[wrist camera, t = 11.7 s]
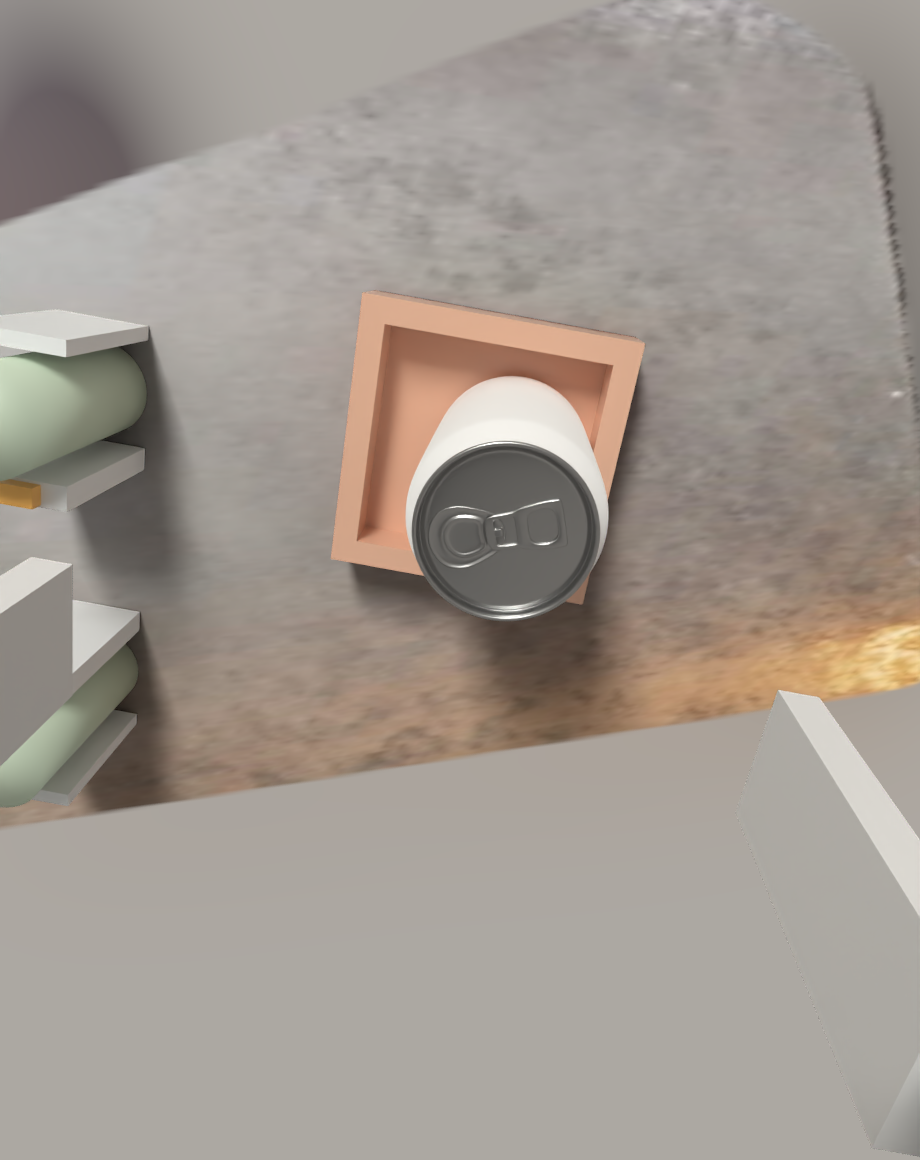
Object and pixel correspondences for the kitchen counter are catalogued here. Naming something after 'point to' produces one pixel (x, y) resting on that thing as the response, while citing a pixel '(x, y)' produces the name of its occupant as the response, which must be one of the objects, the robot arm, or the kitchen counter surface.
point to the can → (507, 502)
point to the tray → (432, 384)
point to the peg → (67, 729)
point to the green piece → (64, 404)
